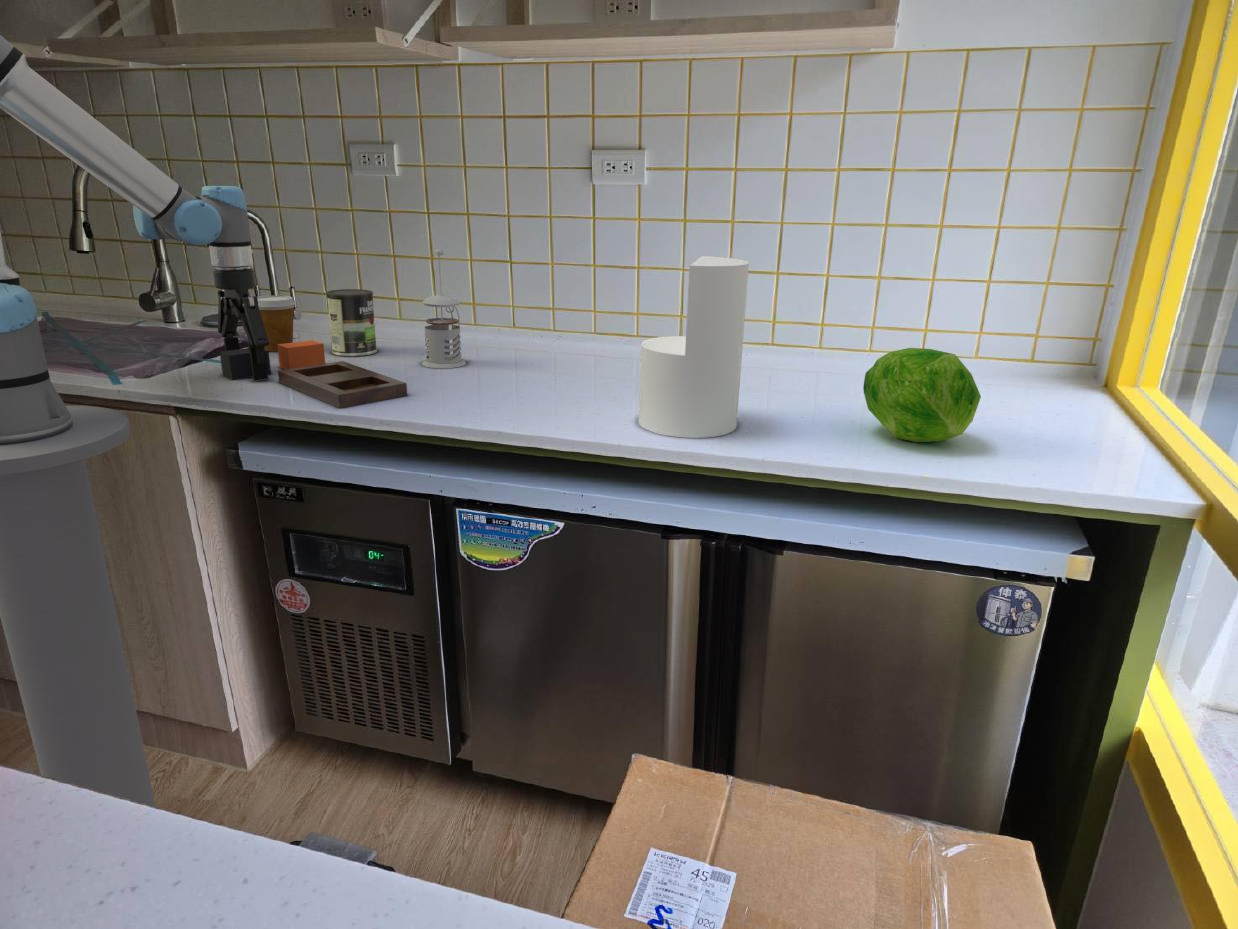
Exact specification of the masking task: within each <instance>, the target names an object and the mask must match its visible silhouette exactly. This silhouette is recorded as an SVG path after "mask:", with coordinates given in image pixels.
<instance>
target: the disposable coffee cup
mask: <svg viewBox="0 0 1238 929" xmlns="http://www.w3.org/2000/svg"><path fill="white" fill-rule="evenodd" d="M256 297H257V299H258V305H259V310H260V313H261V317H262V320H263V323H264V327H265V330H266V334H267V337H268V340H269V345H267V346H265V347H264V349H265V350H268V351H269V352H271V353H272V352H273V353H274V352H276V353H278V346H277V344H285V343H293V342H294V314H295V312H294V311H295V310H294V308H295V305H296V302H295V301H294V298H293V297H292V296H291V295H263V296H261V295H260V296H256Z"/></svg>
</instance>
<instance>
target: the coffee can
mask: <svg viewBox="0 0 1238 929" xmlns="http://www.w3.org/2000/svg"><path fill="white" fill-rule="evenodd" d="M373 295H374V293H373V291H372V290H370V289H359V288H346V289H345V288H343V289H341V288H340V289H333V290H327V291H326V292H325V296H326V300H327V312H328V324H329V332H330V345H331V353H332V355H335V356H340V357H363V356H370V355H373V354H377V352H378V350H377V349H378V348H377V338H376V326H375V325H376V323H375V310H374V296H373Z"/></svg>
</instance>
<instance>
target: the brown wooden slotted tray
mask: <svg viewBox="0 0 1238 929" xmlns="http://www.w3.org/2000/svg"><path fill="white" fill-rule="evenodd" d="M277 376H278V383H279V384H281V385H283V386H286V387H288V388H290V389H293V390H294V391H295V390H296V391H298V392H300V393H302V394H304V395H307V396H310V397H312V398H315V399H317V400H318V401H321V402H324V403H327V404H329V405H330V406H331V405H332V406H334V407H336V408H337V409H343V408H348V407H352V406H353V407H354V406H358V405H364V404H365V405H366V404H370V403H376V402H381V401H385V400H390V399H391V400H392V399H398V398H401V397H406V396H407V397H408V384H407V382H405V381H402V380H399V379H396V378H393V377H391V376H387V375H384V374H381V373H379V372H376V371H373V370H371V369H367V368H364V367H361V366H358V365H355V364H352V363H349V362H346V361H344V360H341V361H335V362H325V364H319V365H313V366H306V367H299V368H292V369H278V370H277Z"/></svg>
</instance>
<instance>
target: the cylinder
mask: <svg viewBox="0 0 1238 929" xmlns="http://www.w3.org/2000/svg"><path fill="white" fill-rule="evenodd" d="M749 265H750V262H749V261H747V260H745V259H739V258H733V257H732V258H731V257H723V256H710V255H702V256H700V257H698V258H697V259H696V260H695V261H694V262H692V263H691V264H690V265H689V267H688V268H689V271H688V288H687V289H688V290H687V306H686V307H687V310H686V312H687V313H686V329H685V335H670V336H669V335H668V336H658V337H651V338H648V339H644V340H643V341H642V342H641V343H640V370H639V398H638V400H639V401H638V402H639V403H638V424H639V425H640V427H641V428H643V429H644V430H647V431H649V432H652V433H655V434H658V435H662V436H663V435H664V436H667V437H675V438H688V439H703V438H704V439H705V438H714V437H720V436H724V435H729V434H730V433H732V432H734V431H735V430H736V429H737V426H738V425H737V424H738V414H739V399H740V386H741V372H742V358H743V345H744V335H745V334H744V333H745V321H746V307H747V294H748V280H749V269H750V268H749V267H750V266H749Z"/></svg>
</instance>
